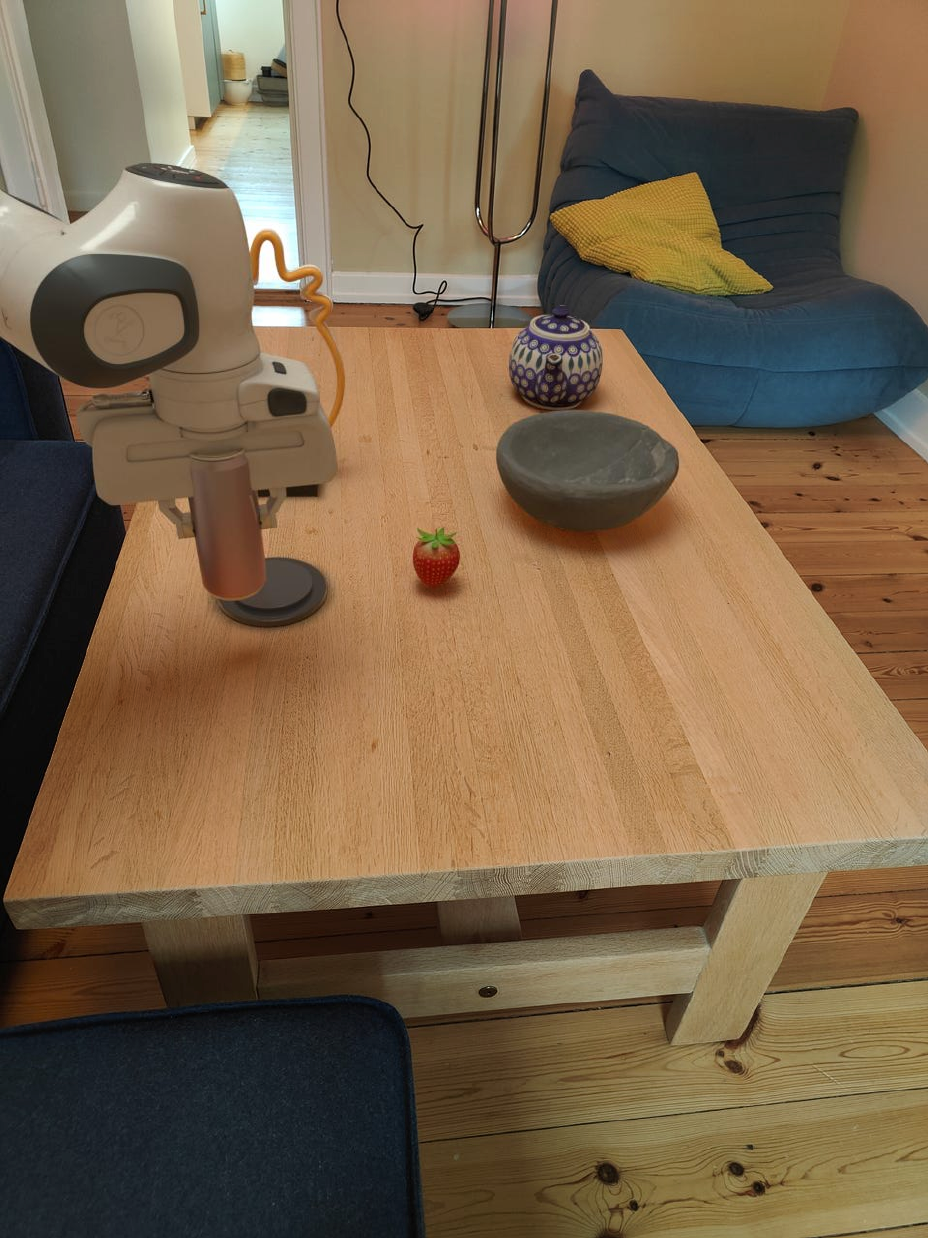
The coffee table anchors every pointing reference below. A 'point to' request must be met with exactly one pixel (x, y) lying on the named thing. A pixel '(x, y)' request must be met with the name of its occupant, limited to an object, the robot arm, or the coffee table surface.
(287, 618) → the saucer
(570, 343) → the teapot
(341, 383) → the lamp
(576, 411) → the bowl
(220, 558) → the beverage can
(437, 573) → the fruit
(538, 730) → the coffee table surface
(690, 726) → the coffee table surface
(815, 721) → the coffee table surface
